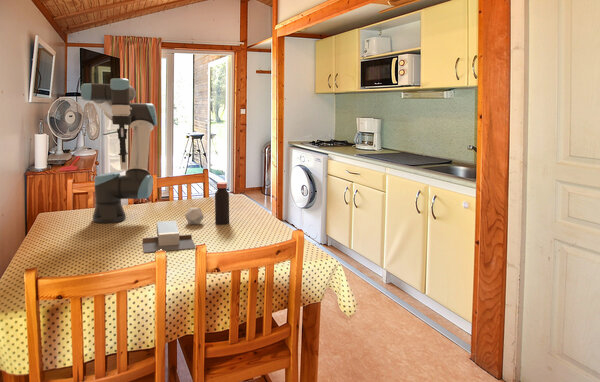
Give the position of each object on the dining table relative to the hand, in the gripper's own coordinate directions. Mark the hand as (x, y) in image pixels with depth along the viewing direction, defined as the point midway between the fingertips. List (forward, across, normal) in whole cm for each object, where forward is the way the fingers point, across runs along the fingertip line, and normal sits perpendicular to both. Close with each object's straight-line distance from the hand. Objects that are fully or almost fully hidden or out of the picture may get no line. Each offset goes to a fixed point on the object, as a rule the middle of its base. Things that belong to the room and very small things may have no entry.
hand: (123, 169), depth 206 cm
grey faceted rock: (+29, +7, -31) cm, 43 cm away
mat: (+28, -27, -16) cm, 42 cm away
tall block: (+23, -16, -16) cm, 32 cm away
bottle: (+29, +4, -44) cm, 53 cm away
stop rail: (+28, -20, -16) cm, 38 cm away
